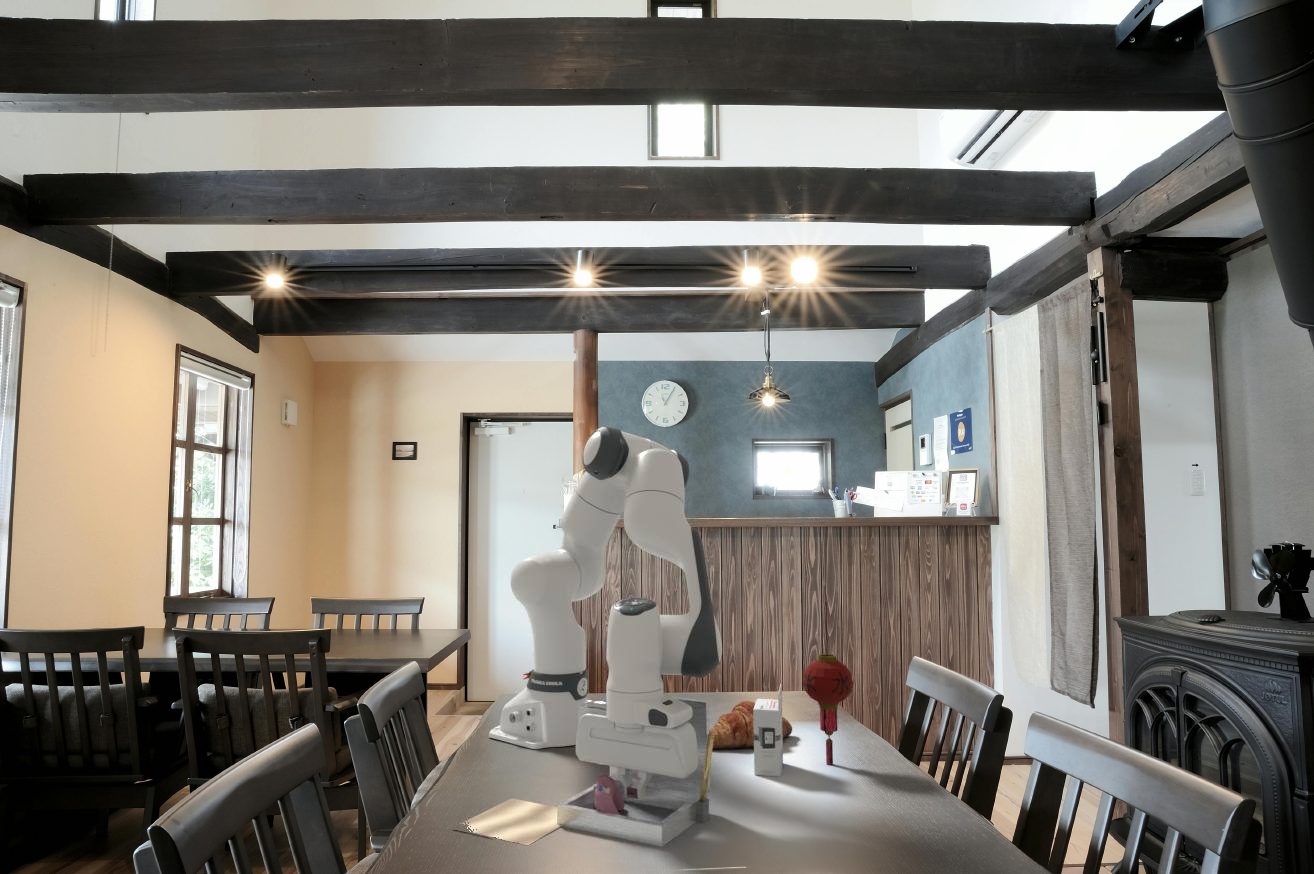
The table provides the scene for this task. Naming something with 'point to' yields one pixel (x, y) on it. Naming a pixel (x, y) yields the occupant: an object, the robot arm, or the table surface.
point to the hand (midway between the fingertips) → (635, 797)
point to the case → (652, 796)
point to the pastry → (739, 728)
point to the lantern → (828, 690)
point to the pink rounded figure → (607, 795)
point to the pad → (516, 821)
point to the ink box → (768, 736)
